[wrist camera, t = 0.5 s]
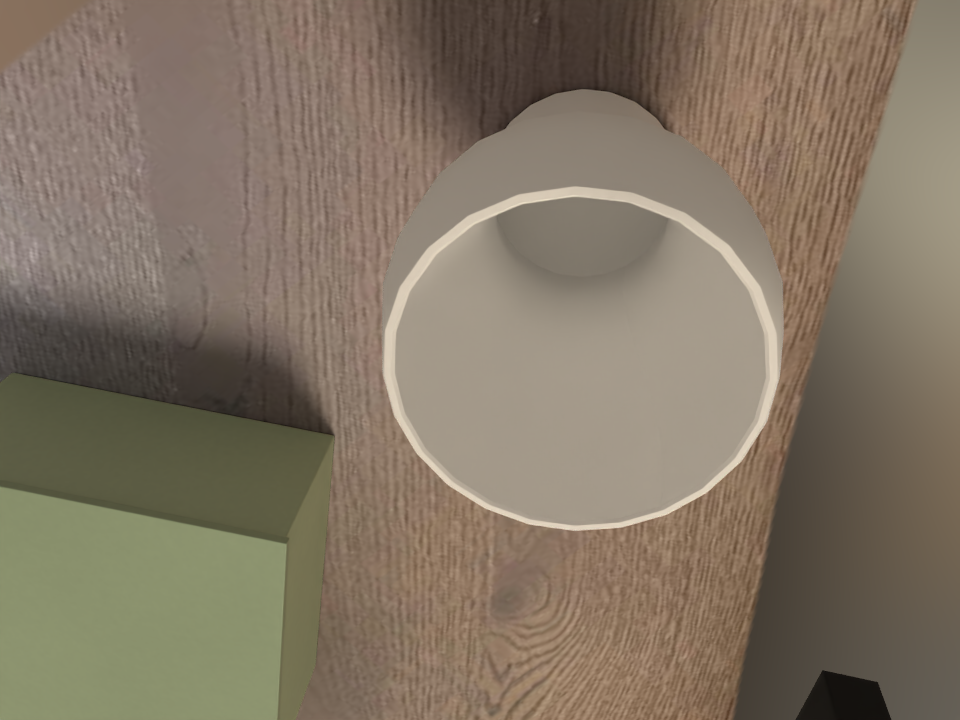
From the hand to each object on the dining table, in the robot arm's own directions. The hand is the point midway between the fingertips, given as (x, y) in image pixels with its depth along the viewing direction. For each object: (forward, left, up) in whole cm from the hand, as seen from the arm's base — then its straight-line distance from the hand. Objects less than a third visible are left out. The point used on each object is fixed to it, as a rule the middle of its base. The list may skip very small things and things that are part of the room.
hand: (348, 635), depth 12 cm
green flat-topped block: (+22, -14, -24) cm, 36 cm away
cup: (0, +3, -24) cm, 25 cm away
